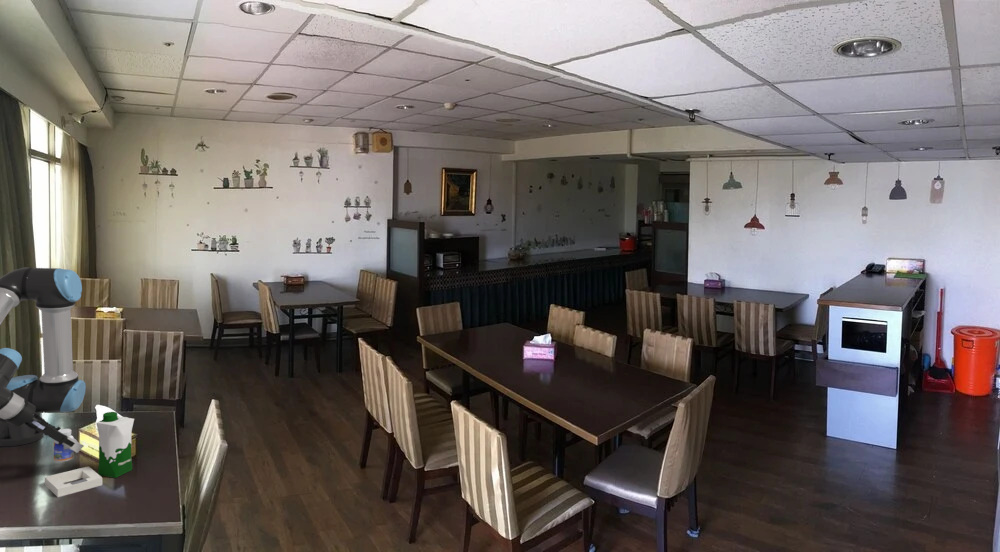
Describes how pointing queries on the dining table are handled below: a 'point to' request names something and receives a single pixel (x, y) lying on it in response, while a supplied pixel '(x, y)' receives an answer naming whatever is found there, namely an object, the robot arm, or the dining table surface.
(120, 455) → the milk carton
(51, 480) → the plate
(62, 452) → the pill bottle
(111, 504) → the dining table surface
